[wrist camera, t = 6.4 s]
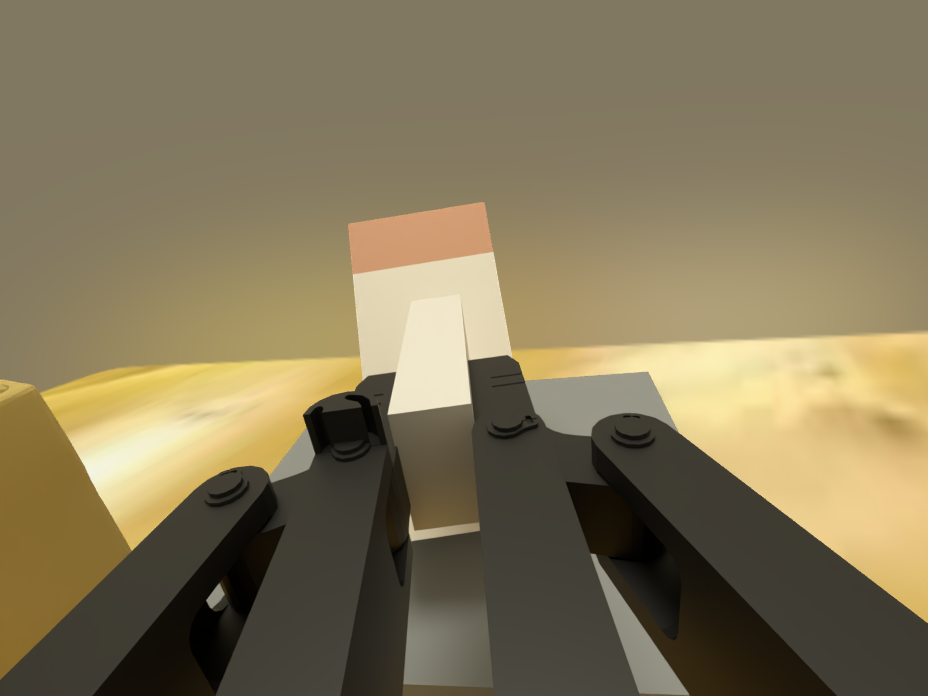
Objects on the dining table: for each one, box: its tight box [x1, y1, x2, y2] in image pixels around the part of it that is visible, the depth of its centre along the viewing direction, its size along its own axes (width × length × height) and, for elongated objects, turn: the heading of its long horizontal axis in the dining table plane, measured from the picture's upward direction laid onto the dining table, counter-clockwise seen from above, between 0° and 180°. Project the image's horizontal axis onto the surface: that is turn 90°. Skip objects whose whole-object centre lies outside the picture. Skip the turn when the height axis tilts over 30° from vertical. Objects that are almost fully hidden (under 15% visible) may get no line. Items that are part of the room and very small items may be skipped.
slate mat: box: [206, 372, 690, 696], centre depth 22 cm, size 20×18×1 cm
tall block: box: [348, 202, 512, 541], centre depth 18 cm, size 5×5×11 cm
